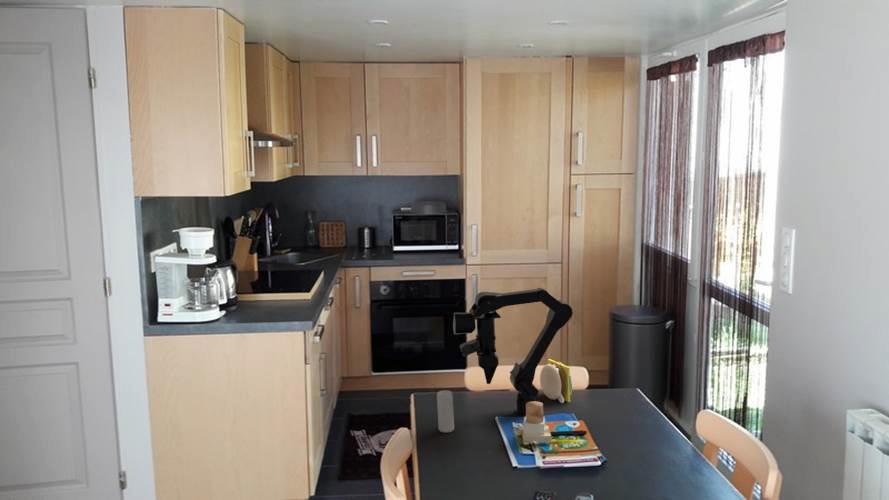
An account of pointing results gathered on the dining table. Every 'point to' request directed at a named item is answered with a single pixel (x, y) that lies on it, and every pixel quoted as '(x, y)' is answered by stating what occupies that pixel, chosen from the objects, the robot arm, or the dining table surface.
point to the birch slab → (537, 436)
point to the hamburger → (556, 381)
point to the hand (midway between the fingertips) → (487, 379)
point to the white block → (534, 427)
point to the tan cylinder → (534, 412)
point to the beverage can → (445, 411)
